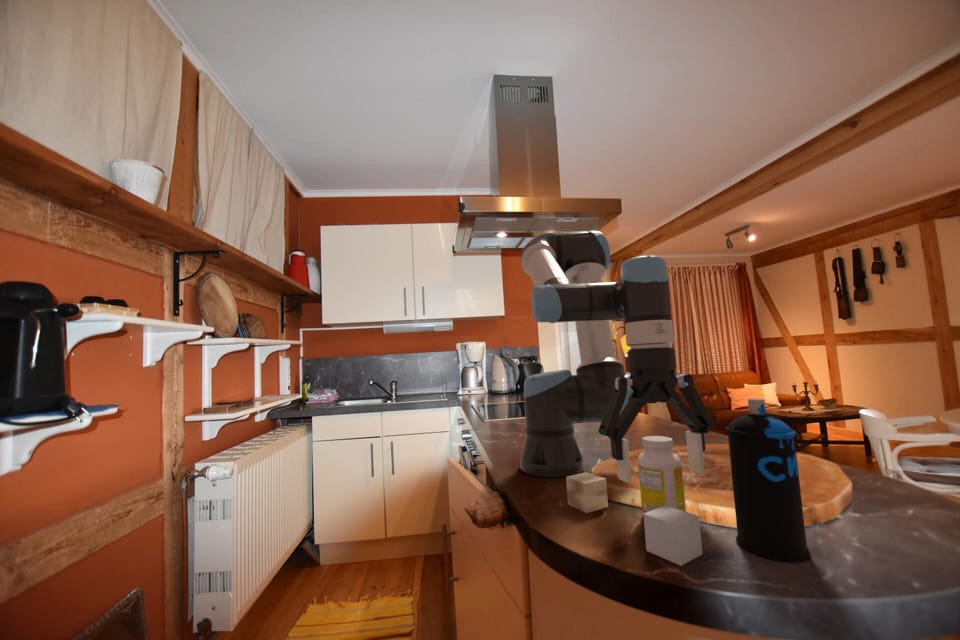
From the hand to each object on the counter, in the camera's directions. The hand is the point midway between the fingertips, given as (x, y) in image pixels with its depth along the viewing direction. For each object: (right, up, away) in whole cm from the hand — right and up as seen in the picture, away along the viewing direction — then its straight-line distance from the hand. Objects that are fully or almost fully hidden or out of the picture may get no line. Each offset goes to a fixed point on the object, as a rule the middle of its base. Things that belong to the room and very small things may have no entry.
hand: (661, 476), depth 65 cm
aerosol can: (+10, -6, -11) cm, 16 cm away
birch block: (-10, -8, +7) cm, 15 cm away
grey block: (-3, -6, -11) cm, 13 cm away
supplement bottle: (0, -7, 0) cm, 7 cm away
